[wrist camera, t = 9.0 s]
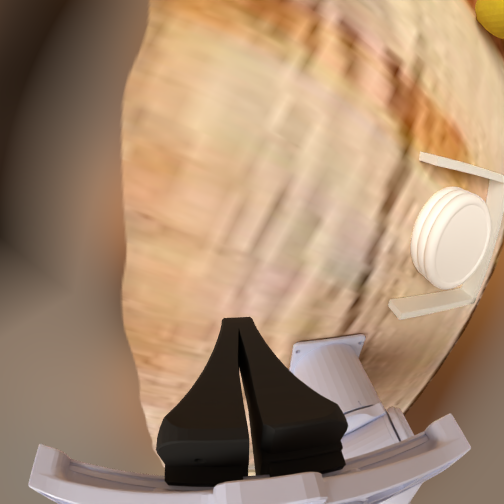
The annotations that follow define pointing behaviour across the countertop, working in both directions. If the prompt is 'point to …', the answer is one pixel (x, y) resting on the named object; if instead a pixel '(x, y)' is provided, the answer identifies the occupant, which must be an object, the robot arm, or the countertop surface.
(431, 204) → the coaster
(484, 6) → the lemon
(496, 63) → the countertop surface
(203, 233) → the countertop surface
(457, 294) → the sorting bin
